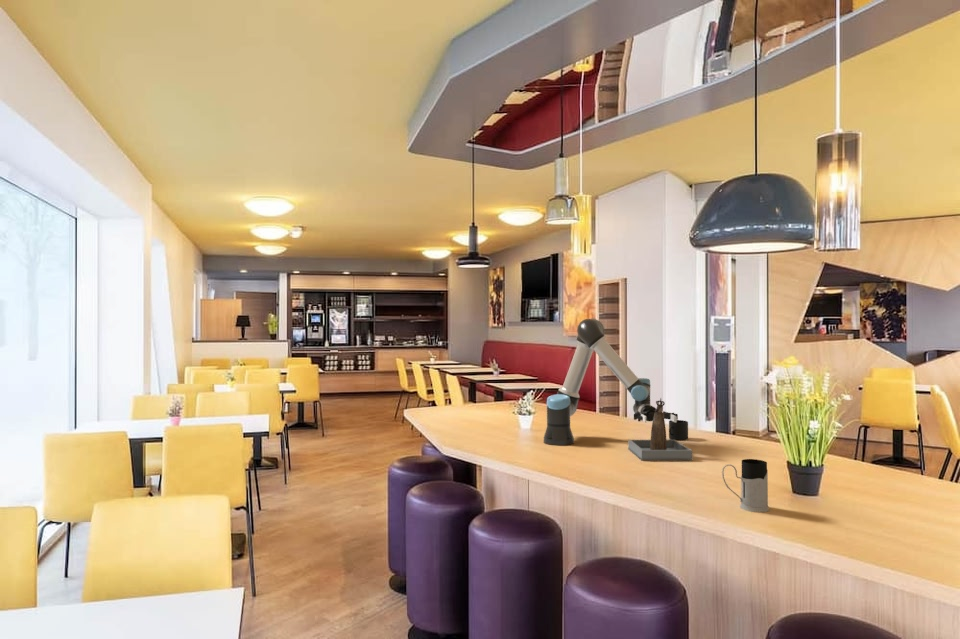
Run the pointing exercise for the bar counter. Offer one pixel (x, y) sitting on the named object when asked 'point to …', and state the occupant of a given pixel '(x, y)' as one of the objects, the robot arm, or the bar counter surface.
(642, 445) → the box
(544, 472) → the bar counter surface
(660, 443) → the statue
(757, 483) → the glass holder
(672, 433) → the mug
